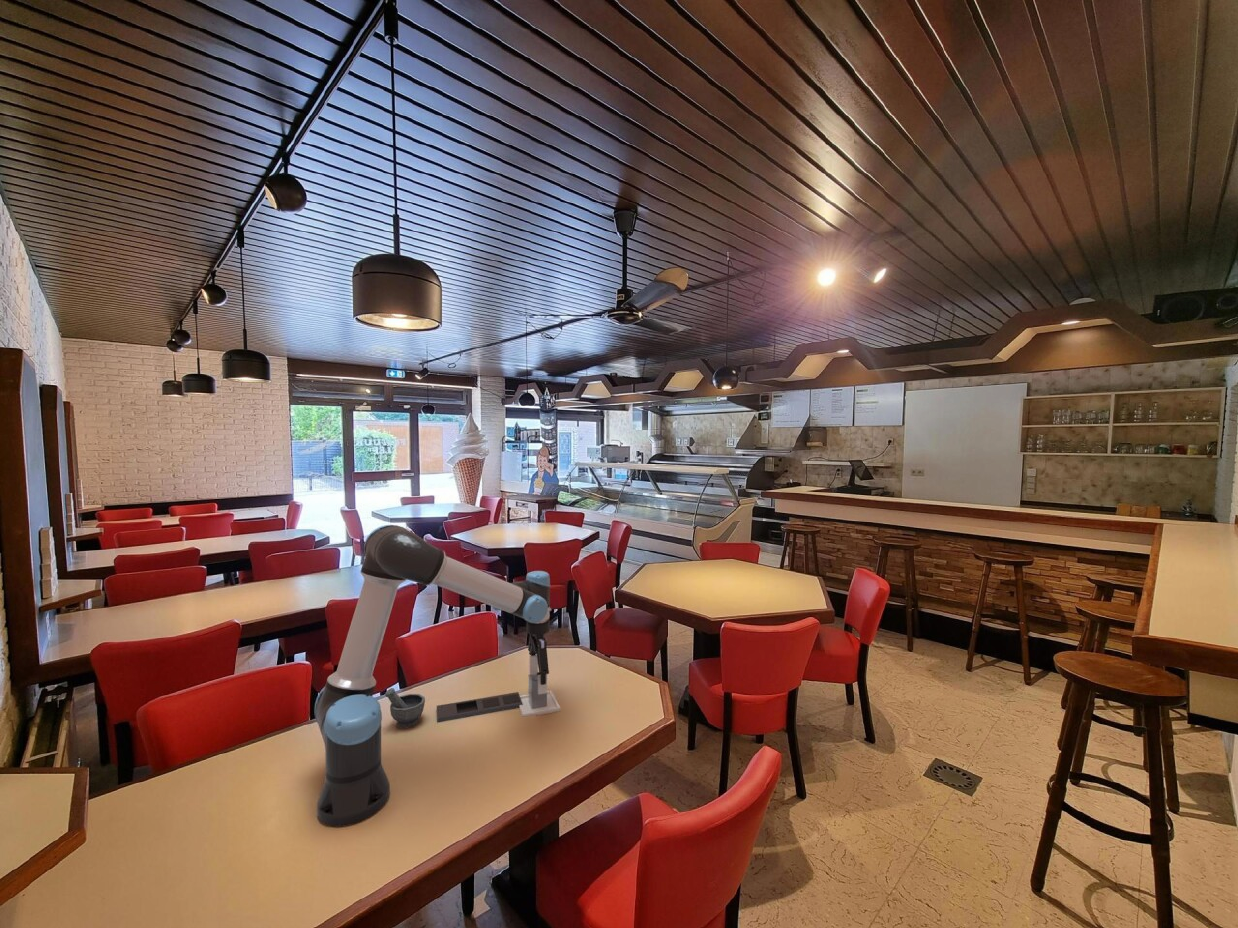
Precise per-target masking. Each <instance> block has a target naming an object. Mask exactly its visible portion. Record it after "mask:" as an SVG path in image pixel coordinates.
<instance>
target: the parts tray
mask: <svg viewBox="0 0 1238 928" xmlns="http://www.w3.org/2000/svg"><path fill="white" fill-rule="evenodd" d="M520 698H521V701H522V703H523V706H522V705H519V708H518V709H519V711H520V713H521V717H522V718H526V717H530V716H536V717H537V716H542V715H545V714H546V715H548V714H552V713H553V714H554V713H557V712H561V706H560V704H559V702H558V701H557V698H556V696H555V695H554V692H553V690H547V706H546V707H541V708H535V709H531V706H530V704H529V693H528V694H523V695H520Z"/></svg>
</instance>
